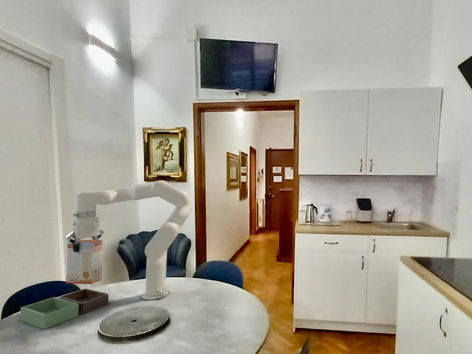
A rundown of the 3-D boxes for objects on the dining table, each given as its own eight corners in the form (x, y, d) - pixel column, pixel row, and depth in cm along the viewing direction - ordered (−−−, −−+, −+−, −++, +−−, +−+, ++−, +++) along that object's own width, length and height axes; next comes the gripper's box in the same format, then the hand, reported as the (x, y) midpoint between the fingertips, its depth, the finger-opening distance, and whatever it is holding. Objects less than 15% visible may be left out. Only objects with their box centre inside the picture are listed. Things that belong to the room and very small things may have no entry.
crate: (109, 303, 128) (109, 293, 128) (81, 314, 117) (82, 303, 117) (85, 297, 135) (85, 288, 135) (57, 307, 124) (58, 297, 124)
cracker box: (102, 280, 128) (103, 239, 129) (90, 284, 122) (92, 242, 123) (78, 279, 130) (79, 238, 130) (65, 283, 124) (66, 241, 124)
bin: (78, 316, 116) (78, 303, 116) (44, 329, 105) (45, 315, 105) (53, 308, 123) (54, 296, 123) (19, 320, 112) (20, 307, 112)
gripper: (69, 217, 118) (68, 255, 117) (110, 213, 134) (109, 246, 133) (60, 216, 120) (58, 253, 120) (101, 212, 137) (100, 245, 136)
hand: (85, 249), depth 127 cm, fingers closed on cracker box, 6 cm apart
